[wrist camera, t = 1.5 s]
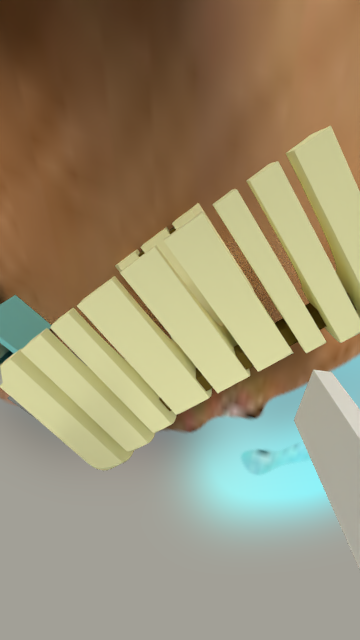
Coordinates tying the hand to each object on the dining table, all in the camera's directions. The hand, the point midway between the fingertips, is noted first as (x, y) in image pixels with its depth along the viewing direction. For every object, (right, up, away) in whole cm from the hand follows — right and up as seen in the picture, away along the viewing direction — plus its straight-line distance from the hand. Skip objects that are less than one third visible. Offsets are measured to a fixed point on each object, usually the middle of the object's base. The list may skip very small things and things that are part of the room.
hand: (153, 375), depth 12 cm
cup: (-22, +2, +30) cm, 37 cm away
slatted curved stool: (+3, +7, +27) cm, 28 cm away
